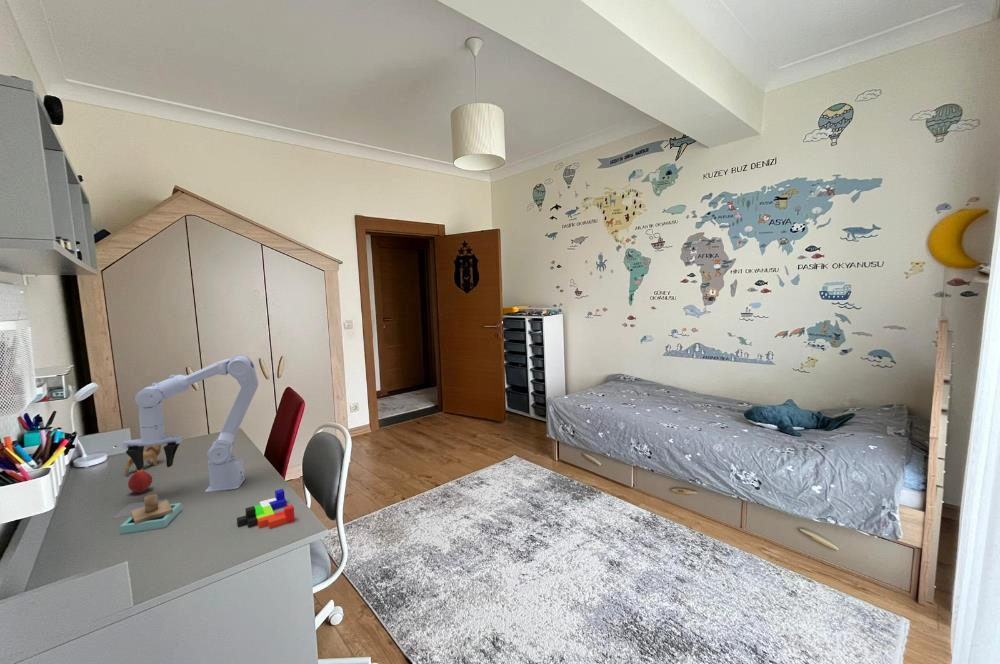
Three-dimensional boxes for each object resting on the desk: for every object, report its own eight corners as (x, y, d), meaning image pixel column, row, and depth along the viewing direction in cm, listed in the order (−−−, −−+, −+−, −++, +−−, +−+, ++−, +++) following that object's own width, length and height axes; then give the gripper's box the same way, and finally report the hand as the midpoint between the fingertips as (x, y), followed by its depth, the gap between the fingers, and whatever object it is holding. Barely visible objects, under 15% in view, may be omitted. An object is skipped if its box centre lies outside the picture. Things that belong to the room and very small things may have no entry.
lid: (167, 503, 120) (166, 487, 120) (172, 512, 115) (171, 495, 114) (131, 514, 114) (129, 496, 114) (135, 524, 109) (133, 506, 108)
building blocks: (234, 516, 118) (233, 501, 118) (283, 502, 126) (282, 488, 126) (241, 539, 107) (240, 523, 106) (295, 522, 115) (294, 507, 114)
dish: (182, 510, 121) (181, 502, 120) (165, 528, 111) (164, 520, 111) (140, 516, 118) (140, 508, 117) (120, 535, 108) (119, 526, 108)
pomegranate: (138, 497, 129) (136, 473, 128) (124, 496, 130) (122, 472, 130) (157, 489, 135) (155, 466, 134) (143, 488, 136) (141, 464, 135)
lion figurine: (152, 461, 159) (150, 438, 159) (166, 460, 159) (165, 438, 159) (119, 477, 145) (117, 452, 144) (134, 476, 145) (132, 452, 144)
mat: (169, 499, 128) (168, 498, 128) (154, 513, 119) (154, 512, 119) (130, 504, 125) (129, 503, 125) (112, 519, 116) (111, 518, 116)
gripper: (185, 419, 133) (188, 459, 134) (130, 423, 129) (134, 465, 130) (175, 425, 126) (178, 468, 127) (117, 430, 122) (121, 474, 123)
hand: (155, 467), depth 128 cm, fingers open, 7 cm apart
